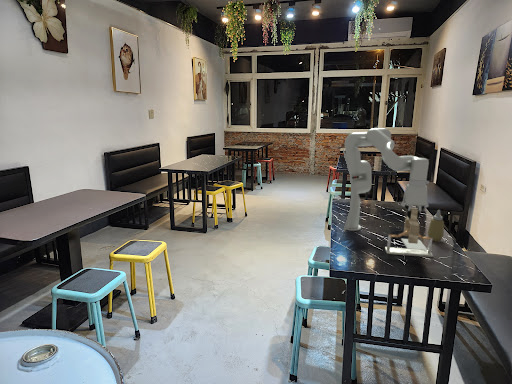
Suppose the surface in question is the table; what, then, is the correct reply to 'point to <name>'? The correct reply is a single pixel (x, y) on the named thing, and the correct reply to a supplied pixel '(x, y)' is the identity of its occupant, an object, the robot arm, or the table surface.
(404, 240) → the pad
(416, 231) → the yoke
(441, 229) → the squeeze bottle
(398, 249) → the wire
